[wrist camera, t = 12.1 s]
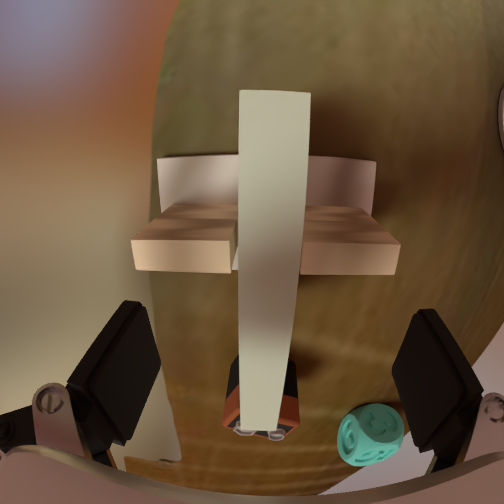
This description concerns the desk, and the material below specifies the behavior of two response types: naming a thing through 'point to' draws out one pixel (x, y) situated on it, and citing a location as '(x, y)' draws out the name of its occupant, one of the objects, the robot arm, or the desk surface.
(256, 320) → the beige rectangular panel
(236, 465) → the desk surface
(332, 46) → the desk surface
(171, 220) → the stand
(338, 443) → the decorative dice
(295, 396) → the battery
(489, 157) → the desk surface
